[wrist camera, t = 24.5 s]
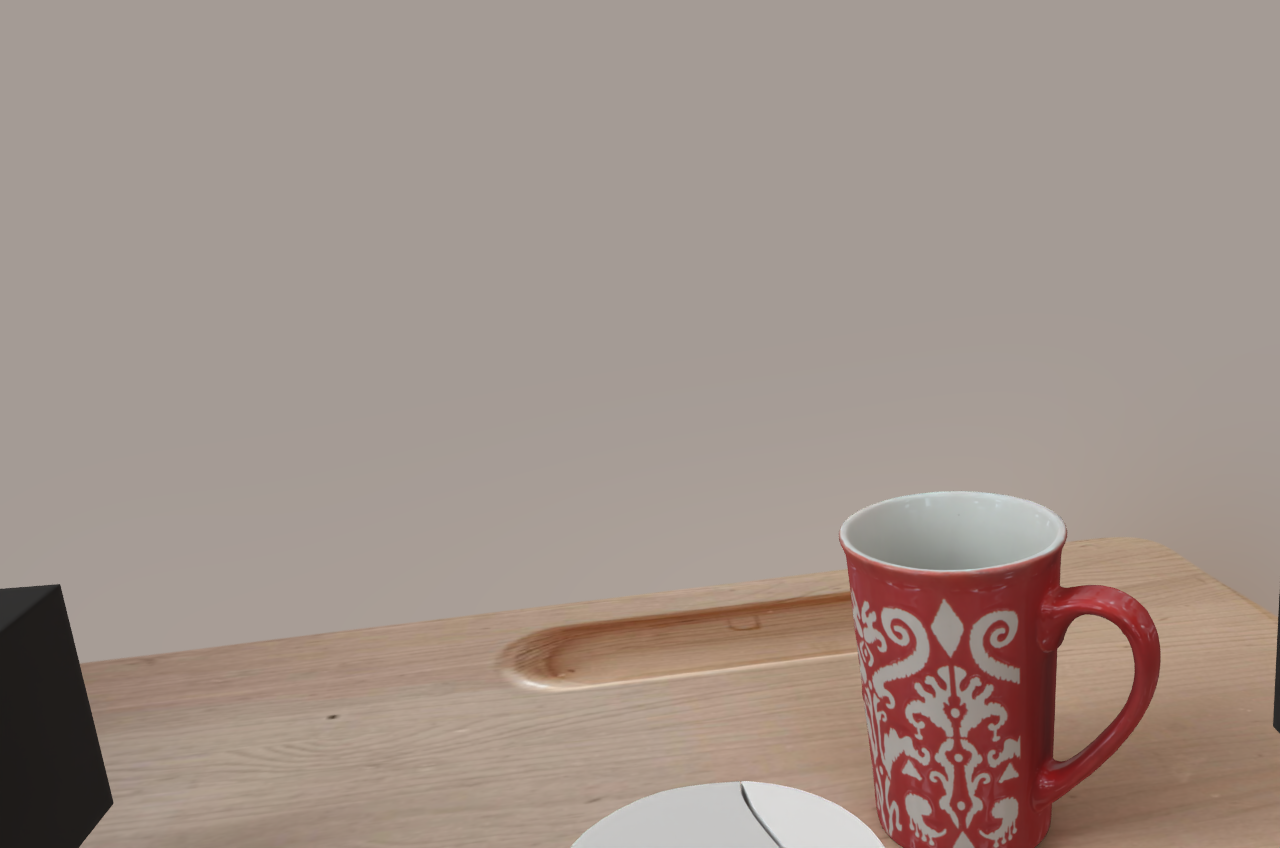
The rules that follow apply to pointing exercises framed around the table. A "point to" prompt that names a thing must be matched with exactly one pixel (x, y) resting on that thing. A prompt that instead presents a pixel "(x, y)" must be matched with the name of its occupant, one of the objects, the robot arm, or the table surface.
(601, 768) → the table surface
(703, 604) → the table surface
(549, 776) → the table surface
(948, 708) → the mug
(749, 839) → the coffee cup
